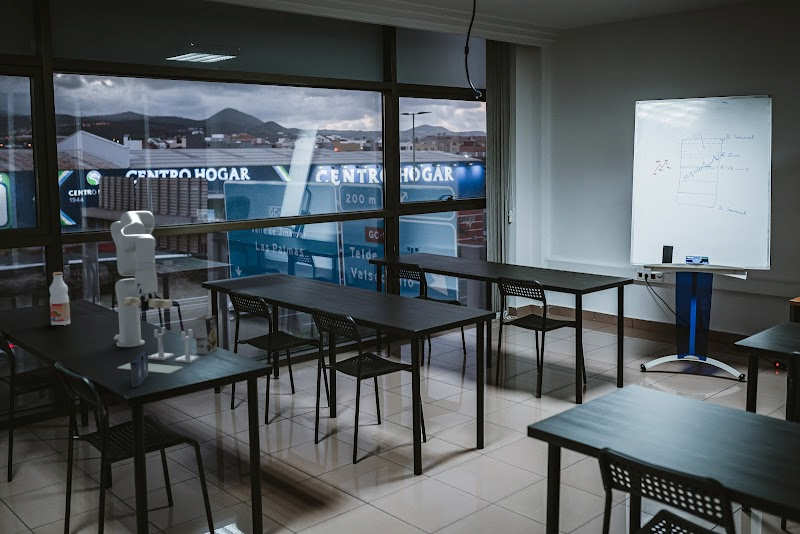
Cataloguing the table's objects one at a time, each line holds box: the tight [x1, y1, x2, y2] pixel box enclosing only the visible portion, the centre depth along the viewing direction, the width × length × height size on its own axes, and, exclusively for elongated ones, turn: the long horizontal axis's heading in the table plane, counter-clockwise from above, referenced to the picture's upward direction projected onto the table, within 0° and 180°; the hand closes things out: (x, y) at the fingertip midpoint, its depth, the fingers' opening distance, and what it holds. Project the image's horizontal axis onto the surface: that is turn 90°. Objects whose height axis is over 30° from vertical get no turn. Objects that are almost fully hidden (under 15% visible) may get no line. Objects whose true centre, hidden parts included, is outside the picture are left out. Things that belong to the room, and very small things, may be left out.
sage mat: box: [116, 362, 184, 375], centre depth 338 cm, size 26×10×1 cm, turn 70°
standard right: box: [174, 329, 202, 364], centre depth 350 cm, size 8×8×13 cm
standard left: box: [148, 326, 175, 361], centre depth 355 cm, size 8×8×13 cm
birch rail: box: [123, 297, 173, 309], centre depth 334 cm, size 22×3×3 cm, turn 70°
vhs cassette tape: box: [129, 350, 150, 388], centre depth 318 cm, size 18×3×10 cm, turn 3°
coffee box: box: [195, 315, 218, 355], centre depth 365 cm, size 9×6×16 cm
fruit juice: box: [49, 271, 71, 326], centre depth 425 cm, size 9×9×28 cm
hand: (147, 309), depth 334 cm, fingers closed on birch rail, 3 cm apart
